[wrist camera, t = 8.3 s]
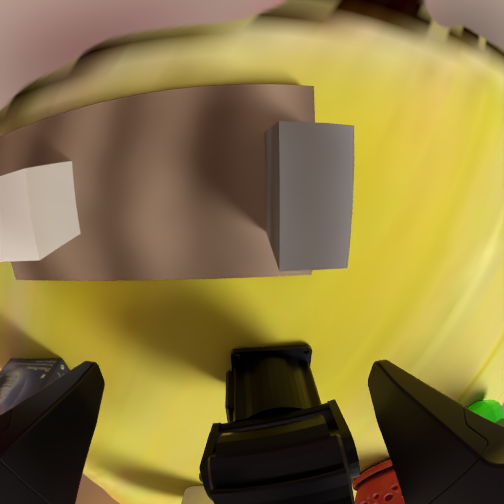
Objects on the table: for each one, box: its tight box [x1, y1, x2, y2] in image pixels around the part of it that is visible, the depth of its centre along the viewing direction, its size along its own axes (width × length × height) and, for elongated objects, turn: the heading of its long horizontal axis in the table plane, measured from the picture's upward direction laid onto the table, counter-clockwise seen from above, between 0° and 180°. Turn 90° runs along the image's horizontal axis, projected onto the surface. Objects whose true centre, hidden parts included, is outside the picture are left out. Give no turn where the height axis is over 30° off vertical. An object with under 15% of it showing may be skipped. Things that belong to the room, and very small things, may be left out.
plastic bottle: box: [468, 400, 504, 426], centre depth 19 cm, size 10×10×25 cm
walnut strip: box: [0, 84, 354, 281], centre depth 14 cm, size 24×12×7 cm, turn 91°
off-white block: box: [0, 161, 81, 262], centre depth 14 cm, size 5×5×5 cm
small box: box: [0, 359, 70, 415], centre depth 18 cm, size 11×6×10 cm, turn 103°
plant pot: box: [353, 459, 405, 504], centre depth 28 cm, size 13×13×12 cm
